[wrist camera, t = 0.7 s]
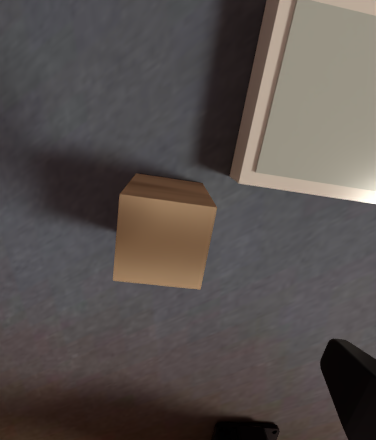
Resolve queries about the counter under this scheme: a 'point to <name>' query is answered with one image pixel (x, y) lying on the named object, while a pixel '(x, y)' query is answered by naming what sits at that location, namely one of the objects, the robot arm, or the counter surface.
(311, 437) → the counter surface
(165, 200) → the oak block
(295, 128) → the tile base
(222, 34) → the counter surface
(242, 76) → the counter surface
